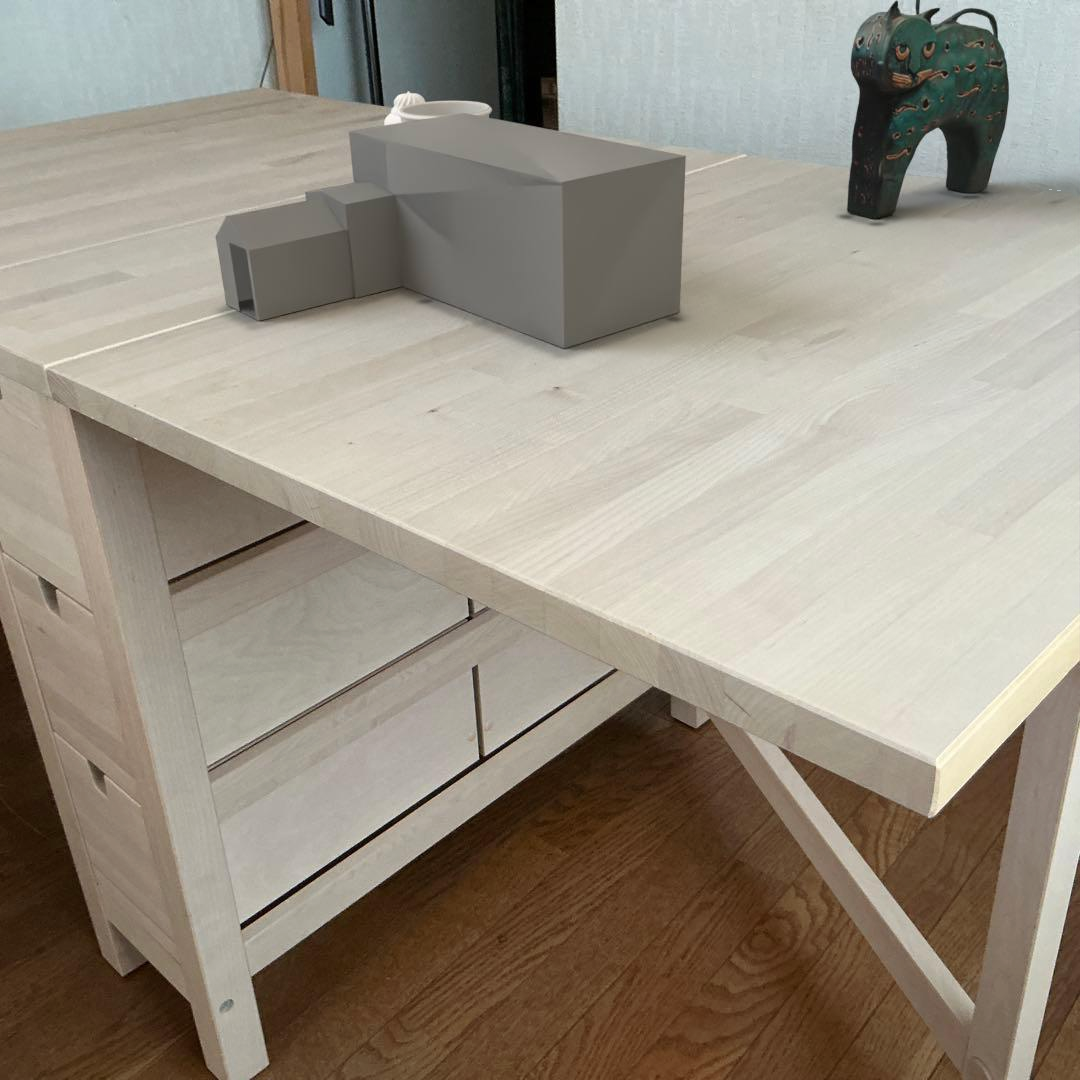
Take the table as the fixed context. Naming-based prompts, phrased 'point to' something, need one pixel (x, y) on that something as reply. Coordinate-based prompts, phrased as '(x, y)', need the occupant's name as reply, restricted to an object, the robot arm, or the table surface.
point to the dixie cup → (442, 110)
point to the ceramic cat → (924, 102)
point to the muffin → (401, 102)
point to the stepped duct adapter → (476, 229)
